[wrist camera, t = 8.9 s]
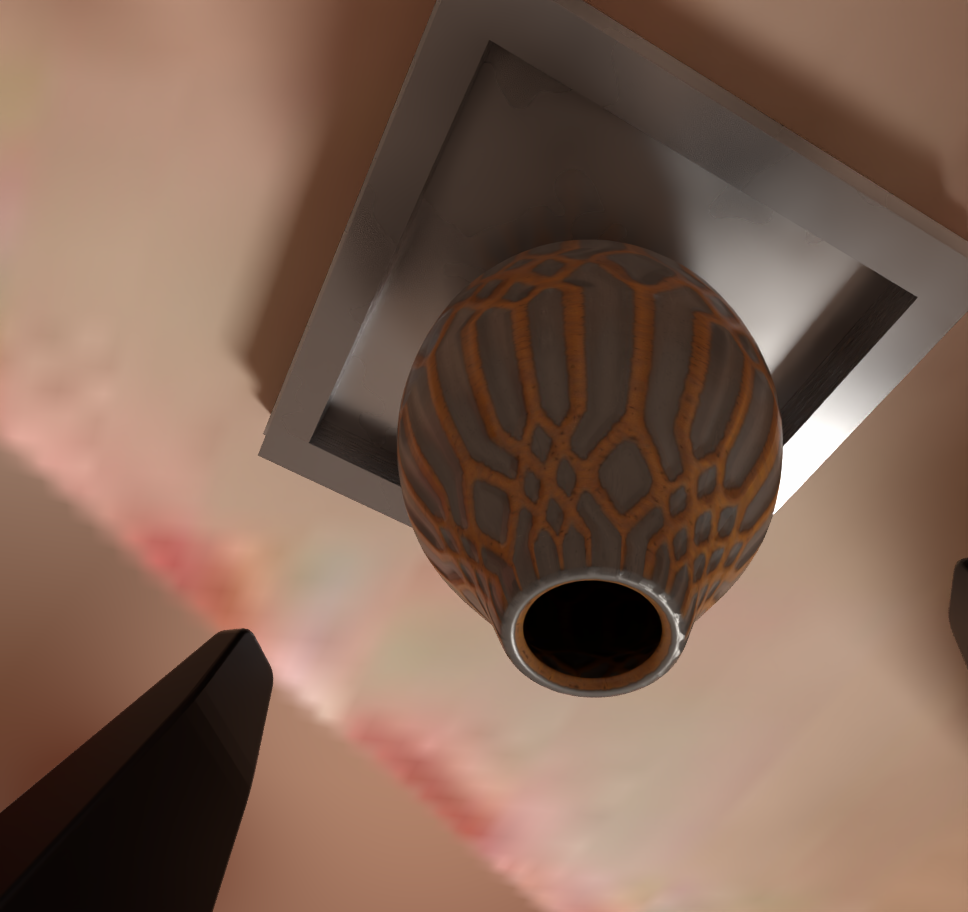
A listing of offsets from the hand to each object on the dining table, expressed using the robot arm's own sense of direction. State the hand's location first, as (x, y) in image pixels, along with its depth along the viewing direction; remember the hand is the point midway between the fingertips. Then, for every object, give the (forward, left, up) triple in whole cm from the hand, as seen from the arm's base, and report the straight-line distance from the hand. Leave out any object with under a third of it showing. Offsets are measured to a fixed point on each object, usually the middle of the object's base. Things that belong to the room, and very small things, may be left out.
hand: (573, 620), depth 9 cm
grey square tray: (0, 0, -10) cm, 10 cm away
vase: (0, 0, -9) cm, 9 cm away
